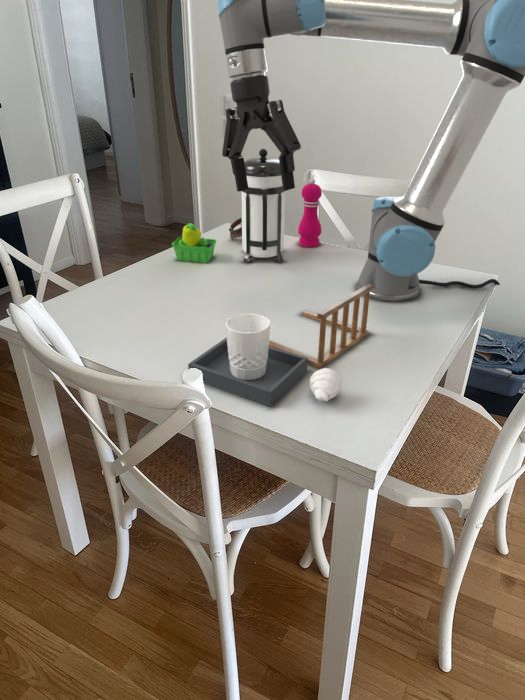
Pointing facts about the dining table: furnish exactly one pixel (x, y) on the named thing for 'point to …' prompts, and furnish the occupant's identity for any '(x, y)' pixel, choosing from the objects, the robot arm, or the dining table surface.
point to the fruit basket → (193, 245)
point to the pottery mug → (236, 232)
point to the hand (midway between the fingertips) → (265, 190)
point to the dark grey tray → (264, 390)
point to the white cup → (248, 345)
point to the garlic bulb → (325, 384)
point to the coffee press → (263, 209)
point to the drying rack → (323, 318)
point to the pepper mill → (310, 215)
